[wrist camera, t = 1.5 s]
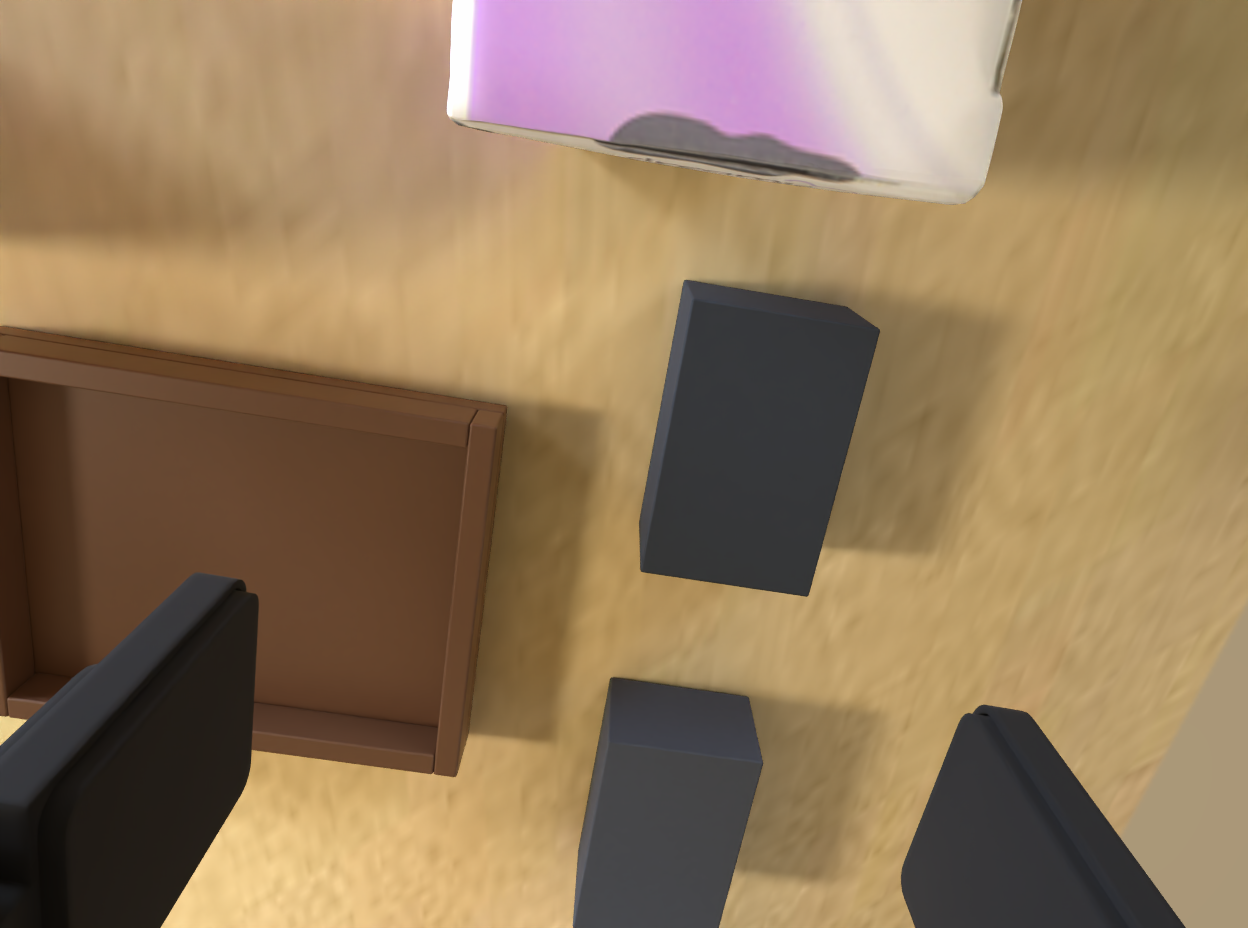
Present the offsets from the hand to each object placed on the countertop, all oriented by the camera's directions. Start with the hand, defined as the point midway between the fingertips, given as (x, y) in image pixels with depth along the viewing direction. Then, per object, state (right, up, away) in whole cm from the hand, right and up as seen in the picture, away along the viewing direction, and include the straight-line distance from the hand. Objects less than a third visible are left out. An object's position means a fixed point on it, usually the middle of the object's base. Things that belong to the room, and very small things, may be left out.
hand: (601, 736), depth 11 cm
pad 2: (+2, -8, +20) cm, 22 cm away
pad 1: (+4, +5, +15) cm, 17 cm away
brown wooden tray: (-12, +1, +17) cm, 21 cm away
